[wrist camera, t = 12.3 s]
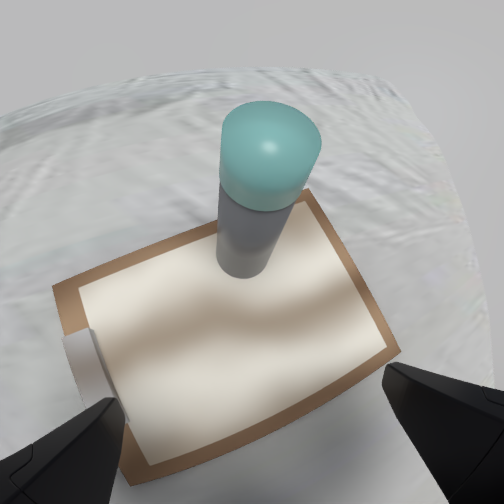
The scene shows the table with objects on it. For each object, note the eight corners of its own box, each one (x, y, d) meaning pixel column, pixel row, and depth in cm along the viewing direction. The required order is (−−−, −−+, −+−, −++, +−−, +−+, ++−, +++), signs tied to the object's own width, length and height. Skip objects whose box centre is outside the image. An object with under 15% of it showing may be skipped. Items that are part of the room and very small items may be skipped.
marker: (278, 267, 20) (339, 157, 10) (228, 287, 19) (248, 184, 9) (254, 222, 21) (290, 95, 11) (207, 240, 20) (207, 112, 10)
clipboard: (398, 352, 20) (410, 349, 18) (131, 484, 14) (125, 492, 12) (307, 191, 24) (312, 179, 22) (54, 287, 18) (44, 280, 17)
